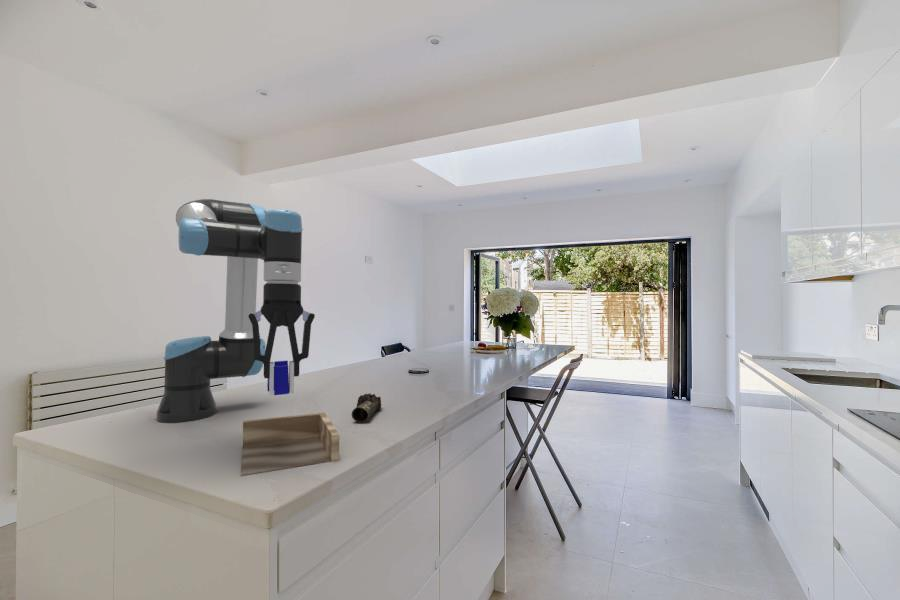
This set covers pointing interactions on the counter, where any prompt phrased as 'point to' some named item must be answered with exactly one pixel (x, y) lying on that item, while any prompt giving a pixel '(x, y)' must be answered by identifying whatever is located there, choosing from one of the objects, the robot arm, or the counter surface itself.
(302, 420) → the corner board
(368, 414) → the metal pipe
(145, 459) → the counter surface
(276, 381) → the cable clip
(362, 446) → the counter surface
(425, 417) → the counter surface
